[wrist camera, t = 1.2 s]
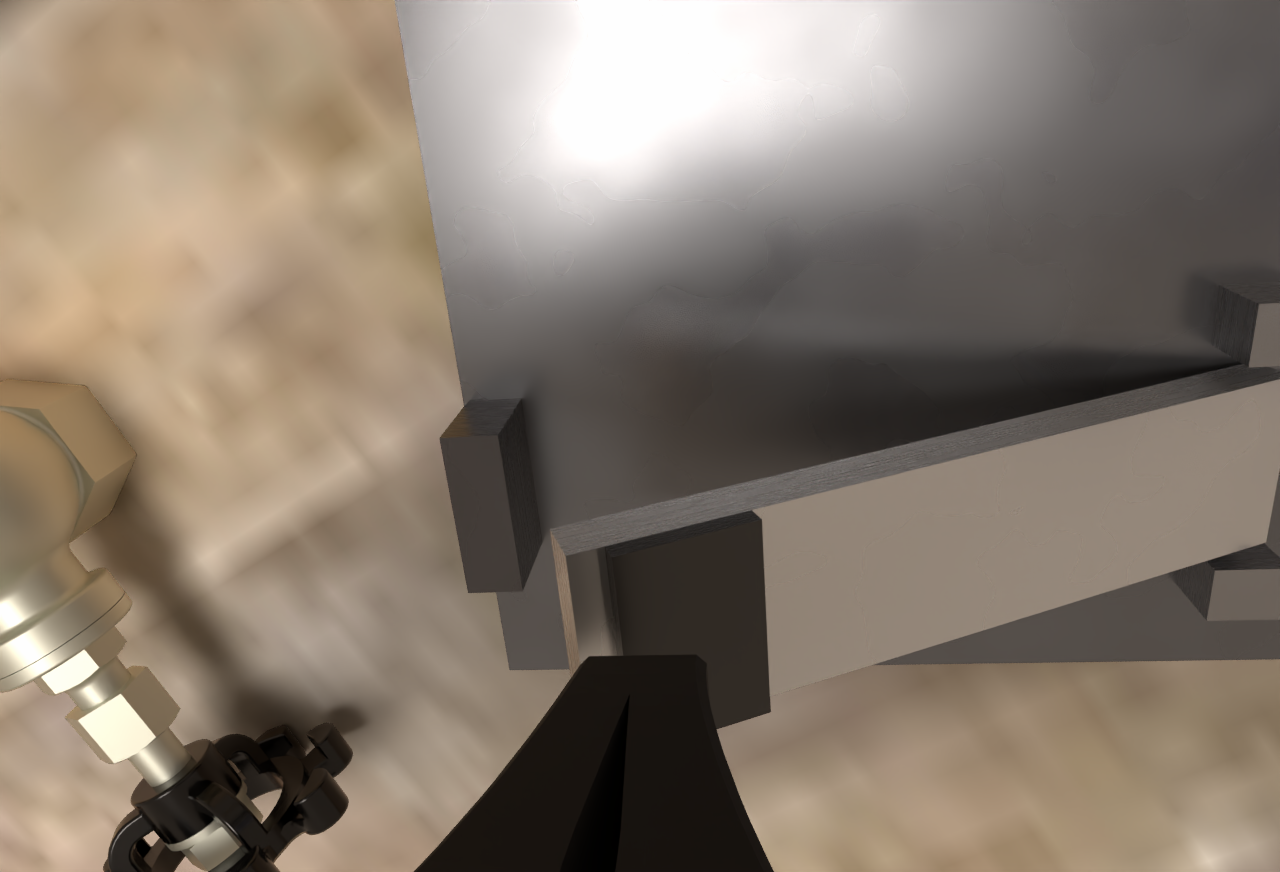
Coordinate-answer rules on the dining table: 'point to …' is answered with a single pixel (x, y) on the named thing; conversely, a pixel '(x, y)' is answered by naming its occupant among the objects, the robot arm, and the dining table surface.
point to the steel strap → (925, 537)
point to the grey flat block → (838, 259)
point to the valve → (131, 698)
